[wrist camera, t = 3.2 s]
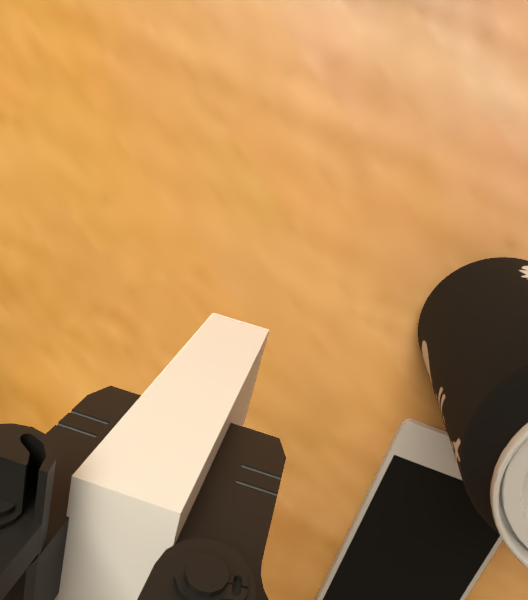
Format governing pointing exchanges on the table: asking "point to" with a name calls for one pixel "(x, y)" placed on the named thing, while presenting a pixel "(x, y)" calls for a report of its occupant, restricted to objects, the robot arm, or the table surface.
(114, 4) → the table surface
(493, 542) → the smartphone
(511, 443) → the beverage can
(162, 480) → the robot arm
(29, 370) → the table surface
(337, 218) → the table surface
